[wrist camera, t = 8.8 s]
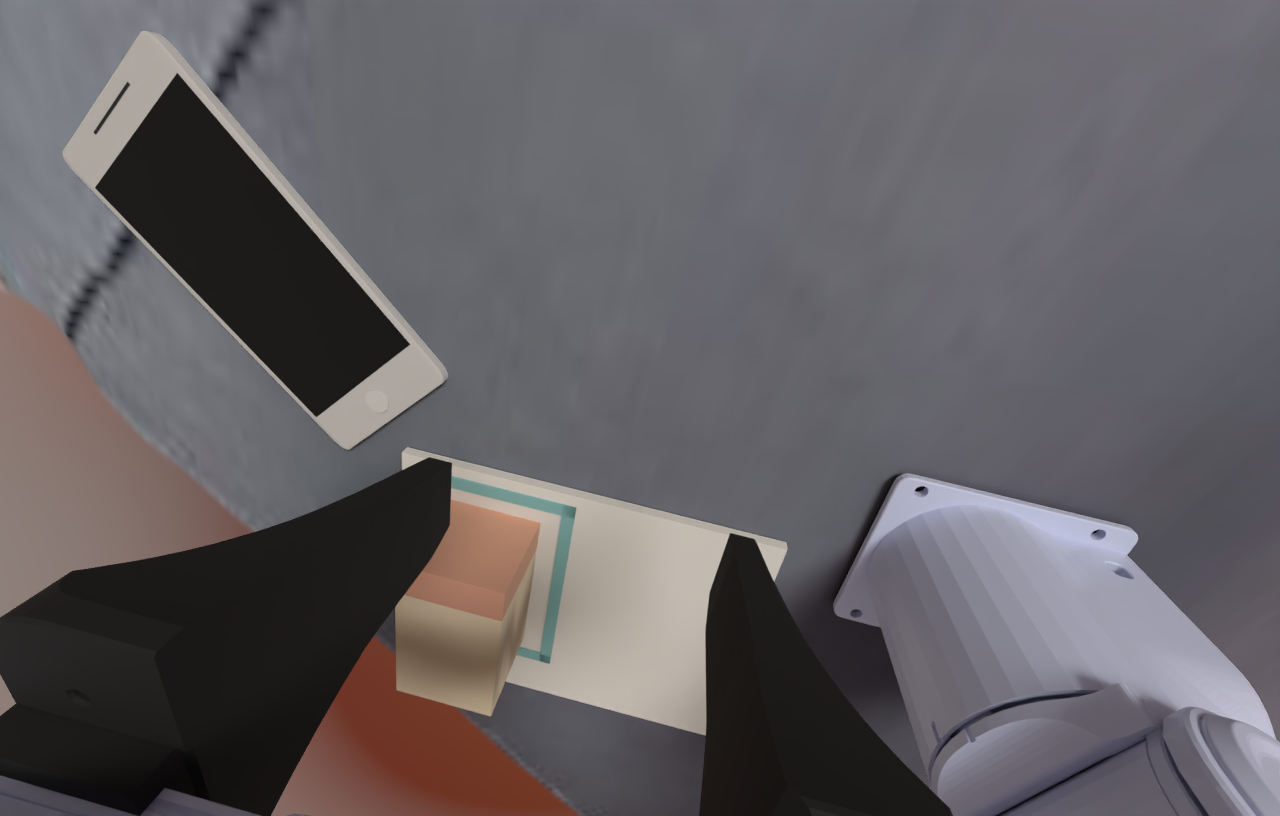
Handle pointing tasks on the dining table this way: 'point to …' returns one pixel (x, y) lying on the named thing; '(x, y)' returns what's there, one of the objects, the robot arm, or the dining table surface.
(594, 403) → the dining table surface
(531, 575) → the block
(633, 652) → the mat
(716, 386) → the dining table surface
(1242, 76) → the dining table surface
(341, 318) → the smartphone
